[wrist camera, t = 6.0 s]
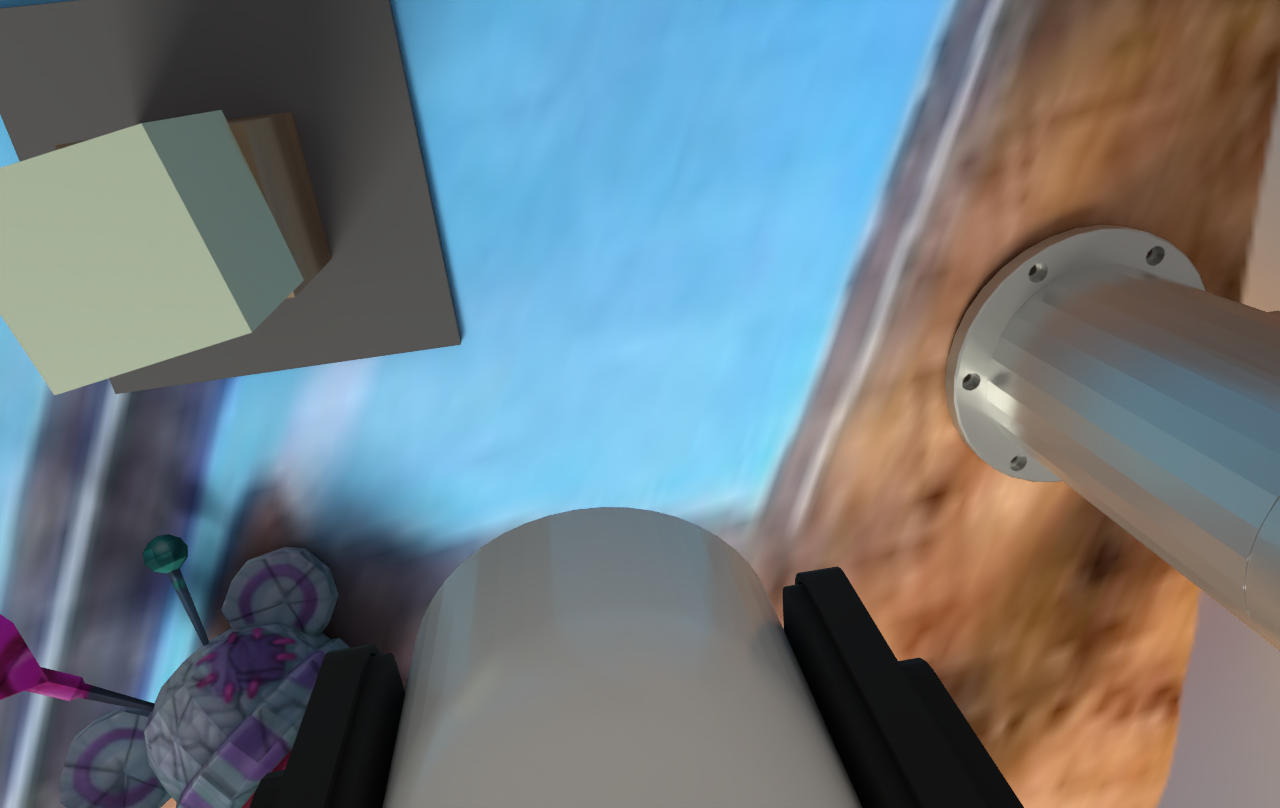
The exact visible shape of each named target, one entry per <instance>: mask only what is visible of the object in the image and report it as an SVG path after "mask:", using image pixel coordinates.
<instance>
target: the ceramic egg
mask: <svg viewBox="0 0 1280 808" xmlns="http://www.w3.org/2000/svg"><path fill="white" fill-rule="evenodd" d="M382 808H863V807H862V805H861V802H860V800H859V798H858V796H857V793H856V791H855V789H854V787H853V784H852V782H851V780H850V778H849V775H848V773H847V771H846V769H845V766H844V764H843V762H842V760H841V757H840V755H839V753H838V750H837V748H836V746H835V744H834V741H833V739H832V737H831V735H830V732H829V730H828V728H827V726H826V723H825V721H824V719H823V717H822V714H821V712H820V710H819V708H818V705H817V703H816V701H815V699H814V696H813V694H812V692H811V690H810V687H809V685H808V683H807V681H806V678H805V676H804V674H803V672H802V669H801V667H800V665H799V663H798V660H797V658H796V656H795V654H794V651H793V649H792V647H791V645H790V642H789V640H788V638H787V636H786V633H785V631H784V629H783V627H782V624H781V622H780V620H779V618H778V615H777V613H776V611H775V609H774V606H773V604H772V602H771V600H770V597H769V595H768V593H767V591H766V589H765V587H764V585H763V583H762V581H761V580H760V578H759V577H758V575H757V574H756V573H755V571H754V570H753V568H752V567H751V566H750V564H749V563H748V562H747V561H746V560H745V559H744V558H743V557H742V556H741V555H740V554H739V553H738V552H737V551H736V550H735V549H734V548H732V547H731V546H730V545H728V544H727V543H726V542H724V541H723V540H722V539H720V538H719V537H718V536H716V535H714V534H712V533H711V532H709V531H707V530H705V529H703V528H702V527H700V526H698V525H695V524H693V523H690V522H688V521H685V520H683V519H680V518H678V517H674V516H670V515H667V514H663V513H659V512H655V511H649V510H642V509H634V508H620V507H599V508H589V509H579V510H572V511H568V512H563V513H558V514H554V515H549V516H546V517H543V518H540V519H537V520H535V521H532V522H529V523H526V524H523V525H521V526H519V527H517V528H515V529H513V530H511V531H508V532H506V533H504V534H502V535H500V536H499V537H497V538H496V539H494V540H492V541H491V542H489V543H488V544H486V545H484V546H483V547H481V548H480V549H479V550H477V551H476V552H475V553H474V554H472V555H471V556H470V557H469V558H468V559H466V560H465V561H464V562H463V563H461V564H460V565H459V567H458V568H457V569H456V570H455V571H454V572H453V573H452V574H451V575H450V576H449V577H448V578H447V579H446V580H445V582H444V583H443V585H442V586H441V587H440V589H439V590H438V592H437V593H436V594H435V596H434V597H433V599H432V600H431V602H430V604H429V606H428V608H427V610H426V612H425V614H424V616H423V618H422V621H421V625H420V628H419V631H418V634H417V637H416V642H415V647H414V652H413V657H412V662H411V667H410V671H409V676H408V681H407V686H406V691H405V696H404V701H403V706H402V711H401V716H400V721H399V726H398V731H397V736H396V741H395V746H394V751H393V756H392V761H391V766H390V771H389V776H388V781H387V786H386V791H385V796H384V801H383V806H382Z"/></svg>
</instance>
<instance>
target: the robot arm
mask: <svg viewBox="0 0 1280 808" xmlns="http://www.w3.org/2000/svg"><path fill="white" fill-rule="evenodd" d="M945 388H946V398H947V406H948V409H949V413H950V416H951V419H952V422H953V425H954V427H955V428H956V430H957V432H958V433H959V435H960V437H961V438H962V440H963V441H964V443H965V444H966V445H967V446H968V447H969V448H970V449H971V450H972V451H973V452H974V453H975V454H976V455H977V456H978V457H980V458H981V459H982V460H983V461H985V462H986V463H987V464H989V465H990V466H991V467H993V468H994V469H995V470H997V471H999V472H1002V473H1004V474H1006V475H1008V476H1010V477H1013V478H1018V479H1023V480H1027V481H1032V482H1059V481H1063V482H1064V483H1066V484H1067V485H1068V486H1070V487H1071V488H1072V489H1073V490H1075V491H1076V492H1077V493H1079V494H1080V495H1081V496H1082V497H1084V498H1085V499H1086V500H1087V501H1089V502H1090V503H1091V504H1093V505H1094V506H1095V507H1096V508H1098V509H1099V510H1100V511H1101V512H1103V513H1104V514H1105V515H1107V516H1108V517H1109V518H1110V519H1112V520H1113V521H1114V522H1116V523H1117V524H1118V525H1119V526H1121V527H1122V528H1123V529H1124V530H1126V531H1127V532H1128V533H1130V534H1131V535H1132V536H1133V537H1135V538H1136V539H1137V540H1139V541H1140V542H1141V543H1142V544H1144V545H1145V546H1146V547H1147V548H1149V549H1150V550H1151V551H1153V552H1154V553H1155V554H1156V555H1158V556H1159V557H1160V558H1161V559H1163V560H1164V561H1165V562H1167V563H1168V564H1169V565H1170V566H1172V567H1173V568H1174V569H1176V570H1177V571H1178V572H1179V573H1181V574H1182V575H1183V576H1184V577H1186V578H1187V579H1188V580H1190V581H1191V582H1192V583H1193V584H1195V585H1196V586H1197V587H1198V588H1200V589H1201V590H1202V591H1204V592H1205V593H1206V594H1208V595H1209V596H1210V597H1211V598H1213V599H1214V600H1215V601H1217V602H1218V603H1219V604H1220V605H1221V606H1223V607H1224V608H1226V609H1227V610H1228V611H1229V612H1231V613H1232V614H1233V615H1234V616H1236V617H1237V618H1238V619H1239V620H1241V621H1242V622H1243V623H1244V624H1246V625H1247V626H1248V627H1250V628H1251V629H1252V630H1254V631H1255V632H1256V633H1257V634H1259V635H1260V636H1261V637H1262V638H1264V639H1265V640H1266V641H1267V642H1269V643H1270V644H1271V645H1273V646H1274V647H1275V648H1276V649H1278V650H1279V651H1280V311H1273V312H1265V311H1261V310H1259V309H1256V308H1253V307H1250V306H1247V305H1244V304H1241V303H1238V302H1235V301H1232V300H1229V299H1226V298H1223V297H1221V296H1218V295H1215V294H1212V293H1209V292H1206V289H1205V287H1204V284H1203V281H1202V279H1201V276H1200V274H1199V272H1198V270H1197V269H1196V268H1195V266H1194V265H1193V264H1192V262H1191V261H1190V259H1189V258H1188V257H1187V255H1186V254H1184V253H1183V252H1182V251H1181V250H1179V249H1178V248H1177V247H1176V246H1174V245H1173V244H1172V243H1171V242H1169V241H1167V240H1165V239H1163V238H1160V237H1158V236H1156V235H1154V234H1151V233H1149V232H1145V231H1141V230H1138V229H1134V228H1130V227H1126V226H1114V225H1095V226H1088V227H1081V228H1075V229H1072V230H1069V231H1066V232H1063V233H1060V234H1057V235H1054V236H1051V237H1049V238H1047V239H1045V240H1043V241H1041V242H1039V243H1038V244H1036V245H1034V246H1032V247H1030V248H1028V249H1026V250H1025V251H1023V252H1022V253H1021V254H1020V255H1018V256H1017V257H1016V258H1014V259H1013V260H1012V261H1010V262H1009V263H1008V264H1006V265H1005V266H1004V267H1002V269H1001V270H1000V271H999V272H998V273H997V274H996V275H995V276H994V277H993V278H992V279H991V280H990V281H989V282H988V283H987V284H986V285H985V286H984V287H983V288H982V290H981V291H980V293H979V294H978V295H977V297H976V298H975V300H974V301H973V303H972V304H971V305H970V307H969V308H968V310H967V311H966V313H965V315H964V317H963V319H962V321H961V323H960V325H959V327H958V330H957V332H956V334H955V336H954V339H953V343H952V346H951V350H950V353H949V356H948V360H947V370H946V379H945ZM783 617H784V631H785V633H786V636H787V638H788V640H789V642H790V645H791V647H792V649H793V651H794V654H795V656H796V658H797V660H798V663H799V665H800V667H801V669H802V672H803V674H804V676H805V678H806V681H807V683H808V685H809V687H810V690H811V692H812V694H813V696H814V699H815V701H816V703H817V705H818V708H819V710H820V712H821V714H822V717H823V719H824V721H825V723H826V726H827V728H828V730H829V732H830V735H831V737H832V739H833V741H834V744H835V746H836V748H837V750H838V753H839V755H840V757H841V760H842V762H843V764H844V766H845V769H846V771H847V773H848V775H849V778H850V780H851V782H852V784H853V787H854V789H855V791H856V793H857V796H858V798H859V800H860V802H861V805H862V807H863V808H1024V807H1023V805H1022V804H1021V802H1020V801H1019V799H1018V798H1017V796H1016V795H1015V793H1014V792H1013V790H1012V789H1011V787H1010V786H1009V784H1008V783H1007V781H1006V780H1005V778H1004V776H1003V775H1002V773H1001V772H1000V770H999V769H998V767H997V766H996V764H995V763H994V761H993V760H992V758H991V757H990V755H989V754H988V752H987V751H986V749H985V748H984V746H983V745H982V743H981V742H980V740H979V739H978V737H977V736H976V734H975V732H974V731H973V729H972V728H971V726H970V725H969V723H968V722H967V720H966V719H965V717H964V716H963V714H962V713H961V711H960V710H959V708H958V707H957V705H956V704H955V702H954V701H953V699H952V698H951V696H950V695H949V693H948V692H947V690H946V688H945V687H944V685H943V684H942V682H941V681H940V679H939V678H938V676H937V675H936V673H935V672H934V670H933V669H932V668H931V667H930V665H929V664H928V663H927V662H926V661H925V660H923V659H921V658H914V659H909V660H903V661H898V660H897V659H896V657H895V656H894V654H893V652H892V651H891V649H890V647H889V646H888V644H887V642H886V641H885V639H884V637H883V636H882V634H881V633H880V631H879V629H878V628H877V626H876V624H875V623H874V621H873V619H872V618H871V616H870V615H869V613H868V611H867V610H866V608H865V606H864V605H863V603H862V601H861V600H860V598H859V597H858V595H857V593H856V592H855V590H854V588H853V587H852V585H851V583H850V582H849V580H848V578H847V577H846V575H845V574H844V572H843V571H842V570H841V568H839V567H832V568H826V569H820V570H814V571H808V572H802V573H798V574H797V575H796V578H795V585H792V586H786V587H784V588H783ZM404 696H405V691H404V687H403V684H402V681H401V677H400V674H399V671H398V667H397V664H396V661H395V658H394V656H393V655H392V653H386V654H380V653H379V650H378V648H377V647H376V646H375V645H373V644H369V645H363V646H357V647H351V648H345V649H339V650H333V651H329V652H328V653H326V655H325V657H324V659H323V661H322V664H321V667H320V670H319V673H318V676H317V679H316V681H315V684H314V687H313V690H312V693H311V696H310V699H309V702H308V705H307V707H306V710H305V713H304V716H303V719H302V722H301V725H300V728H299V731H298V733H297V736H296V739H295V742H294V745H293V748H292V751H291V754H290V756H289V759H288V762H287V765H286V768H285V770H279V771H274V772H268V773H267V774H266V775H265V776H264V777H263V778H262V779H261V781H260V783H259V785H258V787H257V789H256V791H255V793H254V796H253V799H252V801H251V804H250V807H249V808H382V806H383V801H384V796H385V791H386V786H387V781H388V776H389V771H390V766H391V761H392V756H393V751H394V746H395V741H396V736H397V731H398V726H399V721H400V716H401V711H402V706H403V701H404Z"/></svg>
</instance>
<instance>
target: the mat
mask: <svg viewBox="0 0 1280 808" xmlns="http://www.w3.org/2000/svg"><path fill="white" fill-rule="evenodd" d="M218 110H222V112H223V114H224V116H225V118H226V120H228V119H237V118H245V117H254V116H262V115H270V114H279V113H287V112H292V114H293V118H294V122H295V125H296V129H297V133H298V137H299V140H300V144H301V148H302V151H303V155H304V159H305V163H306V166H307V170H308V174H309V177H310V181H311V185H312V189H313V192H314V196H315V200H316V203H317V207H318V211H319V215H320V218H321V222H322V226H323V229H324V233H325V237H326V241H327V244H328V248H329V252H330V255H331V260H330V261H329V262H328V263H327V264H326V265H325V266H324V268H323V269H322V270H321V271H320V272H319V273H318V274H317V275H316V276H315V277H314V278H313V279H312V280H311V281H310V282H309V283H308V284H307V285H306V286H305V287H304V288H303V289H302V290H301V291H300V292H299V294H298V295H297V296H296V297H293V298H286V299H285V300H284V301H283V302H282V303H281V304H280V305H279V306H278V307H277V308H276V309H275V310H274V311H273V312H272V313H271V314H270V315H269V316H268V317H267V318H266V319H265V320H264V321H263V322H262V323H261V324H260V325H259V326H258V327H257V328H256V329H255V330H254V331H253V332H252V333H249V334H246V335H243V336H240V337H236V338H233V339H230V340H227V341H224V342H221V343H218V344H214V345H211V346H208V347H205V348H202V349H199V350H196V351H192V352H189V353H186V354H183V355H180V356H177V357H174V358H170V359H167V360H164V361H161V362H158V363H155V364H152V365H148V366H145V367H142V368H139V369H136V370H133V371H130V372H126V373H123V374H120V375H117V376H114V377H111V378H109V379H110V381H111V384H112V386H113V389H114V391H115V394H119V393H126V392H133V391H140V390H146V389H153V388H160V387H167V386H174V385H181V384H188V383H195V382H202V381H209V380H216V379H223V378H230V377H237V376H244V375H251V374H258V373H265V372H272V371H279V370H286V369H293V368H300V367H307V366H314V365H321V364H328V363H335V362H342V361H349V360H356V359H363V358H370V357H377V356H384V355H391V354H398V353H405V352H412V351H419V350H426V349H433V348H440V347H447V346H454V345H461V337H460V333H459V328H458V323H457V318H456V313H455V309H454V304H453V299H452V294H451V290H450V285H449V280H448V275H447V271H446V266H445V261H444V256H443V251H442V247H441V242H440V237H439V232H438V228H437V223H436V218H435V213H434V209H433V204H432V199H431V194H430V189H429V185H428V180H427V175H426V170H425V166H424V161H423V156H422V151H421V147H420V142H419V137H418V132H417V127H416V123H415V118H414V113H413V108H412V104H411V99H410V94H409V89H408V85H407V80H406V75H405V70H404V65H403V61H402V56H401V51H400V46H399V42H398V37H397V32H396V27H395V23H394V18H393V13H392V8H391V3H390V0H76V1H67V2H57V3H48V4H38V5H28V6H19V7H9V8H0V114H1V117H2V119H3V122H4V124H5V127H6V129H7V131H8V134H9V136H10V139H11V141H12V144H13V146H14V148H15V151H16V153H17V156H18V158H19V161H20V162H21V161H24V160H27V159H30V158H33V157H36V156H40V155H43V154H46V153H49V152H52V151H55V150H56V148H55V145H59V144H65V143H70V142H76V141H81V140H86V139H92V138H97V137H100V136H103V135H106V134H109V133H112V132H116V131H119V130H122V129H125V128H128V127H131V126H135V125H138V124H141V123H146V122H152V121H158V120H164V119H170V118H176V117H182V116H188V115H194V114H200V113H206V112H212V111H218Z"/></svg>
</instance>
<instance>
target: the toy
mask: <svg viewBox="0 0 1280 808" xmlns="http://www.w3.org/2000/svg"><path fill="white" fill-rule="evenodd" d="M187 557H188V546H187V545H186V544H185V543H184V541H183V540H182V539H181V538H179V537H176V536H173V535H169V534H168V535H162V536H157V537H156V538H154V539H153V540H152V541H150V542H149V543H148V545H147V547H146V548H145V550H144V552H143V558H144V564H145V565H146V566H147V567H149V568H150V569H151V570H152V571H154V572H161V573H167V574H168V576H169V578H170V580H171V582H172V584H173V586H174V588H175V590H176V592H177V594H178V596H179V598H180V600H181V602H182V604H183V606H184V608H185V610H186V612H187V614H188V616H189V618H190V620H191V622H192V624H193V626H194V628H195V630H196V631H197V633H198V635H199V637H200V639H201V641H202V643H203V646H202V647H200V648H199V649H198V650H197V651H196V652H194V653H193V654H192V655H191V656H190V657H189V658H187V659H186V660H185V661H184V662H183V663H182V664H181V665H180V667H179V668H178V669H177V670H176V671H175V672H174V674H173V675H172V676H171V677H170V678H169V679H168V680H167V682H166V683H165V684H164V685H163V686H162V687H161V690H160V692H159V694H158V697H157V699H156V701H155V704H154V703H150V702H147V701H144V700H140V699H137V698H133V697H130V696H126V695H123V694H120V693H116V692H113V691H109V690H106V689H102V688H99V687H95V686H92V685H89V684H85V683H84V681H83V679H82V677H79V676H75V675H71V674H67V673H63V672H58V671H54V670H50V669H46V668H42V667H40V666H39V664H38V663H37V661H36V659H35V658H34V656H33V655H32V653H31V651H30V650H29V648H28V646H27V645H26V643H25V642H24V640H23V638H22V637H21V635H20V633H19V632H18V630H17V629H16V627H15V625H14V624H13V623H12V622H11V621H9V620H8V619H6V618H5V617H4V616H2V615H1V614H0V700H1V699H4V698H6V697H9V696H12V695H14V694H17V693H20V692H22V691H29V692H33V693H37V694H42V695H46V696H50V697H55V698H59V699H63V700H67V701H71V700H73V699H75V698H84V699H89V700H94V701H99V702H104V703H109V704H115V705H120V706H123V707H120V708H118V709H116V710H114V711H112V712H110V713H108V714H105V715H103V716H101V717H99V718H97V719H96V720H94V721H93V722H92V723H91V724H90V725H88V726H87V727H86V728H85V729H84V730H82V731H81V732H80V733H79V734H78V735H76V736H75V737H74V739H73V741H72V742H71V744H70V747H69V751H68V754H67V758H66V761H65V764H64V768H63V771H62V775H61V778H60V782H59V791H60V802H61V804H63V805H64V806H65V807H67V808H161V807H162V806H163V805H164V804H165V803H166V802H167V801H168V800H169V799H170V798H171V797H172V798H173V799H174V800H175V801H176V802H177V804H176V808H249V807H250V804H251V801H252V799H253V796H254V793H255V791H256V789H257V787H258V785H259V783H260V781H261V779H262V778H263V777H264V776H265V775H266V774H267V773H268V772H274V771H279V770H285V768H286V765H287V762H288V759H289V756H290V754H291V751H292V748H293V745H294V742H295V739H296V736H297V733H298V731H299V728H300V725H301V722H302V719H303V716H304V713H305V710H306V707H307V705H308V702H309V699H310V696H311V693H312V690H313V687H314V684H315V681H316V679H317V676H318V673H319V670H320V667H321V664H322V661H323V659H324V657H325V655H326V653H328V652H329V651H333V650H339V649H345V648H350V647H349V646H348V645H347V644H346V643H345V642H343V641H342V640H341V639H340V638H335V639H330V638H329V637H327V636H326V635H325V634H324V633H323V630H324V629H325V628H326V626H327V625H328V624H329V622H330V620H331V617H332V614H333V611H334V608H335V605H336V602H337V600H338V597H339V594H338V591H337V588H336V585H335V582H334V579H333V576H332V573H331V570H330V568H329V567H328V566H326V565H325V564H324V563H323V562H322V561H320V560H319V559H318V558H317V557H316V556H314V555H313V554H312V553H311V552H309V551H308V550H307V549H306V548H295V547H283V548H280V549H277V550H275V551H272V552H269V553H266V554H264V555H261V556H258V557H256V558H253V559H250V560H247V562H246V563H245V564H244V566H243V567H242V568H241V569H240V571H239V572H238V573H237V574H236V576H235V577H234V578H233V580H232V582H231V584H230V587H229V590H228V592H227V595H226V598H225V601H224V603H223V606H222V610H221V611H222V613H223V614H224V616H225V618H226V619H227V621H228V623H229V625H230V627H231V628H230V629H229V630H227V631H225V632H224V633H222V634H220V635H218V636H217V637H215V638H213V639H212V640H210V641H209V640H208V638H207V635H206V633H205V630H204V628H203V625H202V623H201V621H200V618H199V616H198V613H197V611H196V608H195V606H194V603H193V601H192V598H191V596H190V593H189V591H188V588H187V586H186V583H185V581H184V578H183V576H182V573H181V571H180V567H181V566H182V564H183V563H184V561H185V560H186V558H187Z"/></svg>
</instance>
